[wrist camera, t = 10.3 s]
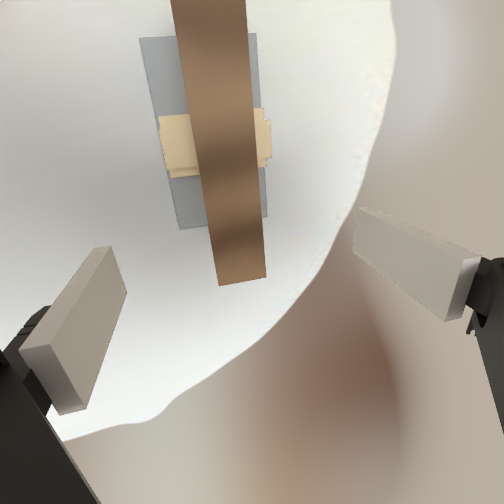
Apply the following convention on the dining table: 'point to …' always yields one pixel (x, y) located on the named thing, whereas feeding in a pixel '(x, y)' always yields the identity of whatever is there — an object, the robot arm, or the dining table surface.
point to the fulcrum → (180, 130)
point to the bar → (223, 131)
